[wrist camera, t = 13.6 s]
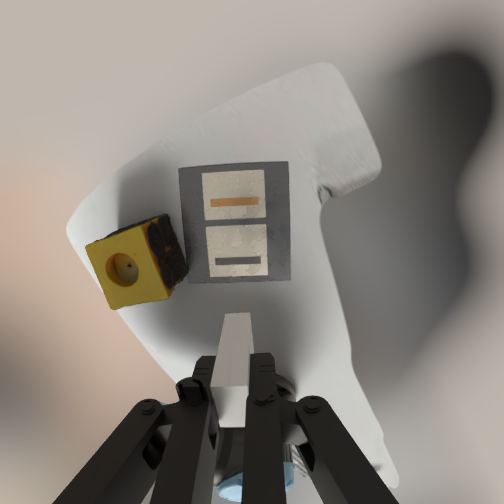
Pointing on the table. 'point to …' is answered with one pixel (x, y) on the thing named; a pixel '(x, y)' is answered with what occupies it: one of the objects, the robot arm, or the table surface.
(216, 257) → the label plate
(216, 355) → the robot arm
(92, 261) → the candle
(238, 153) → the table surface
